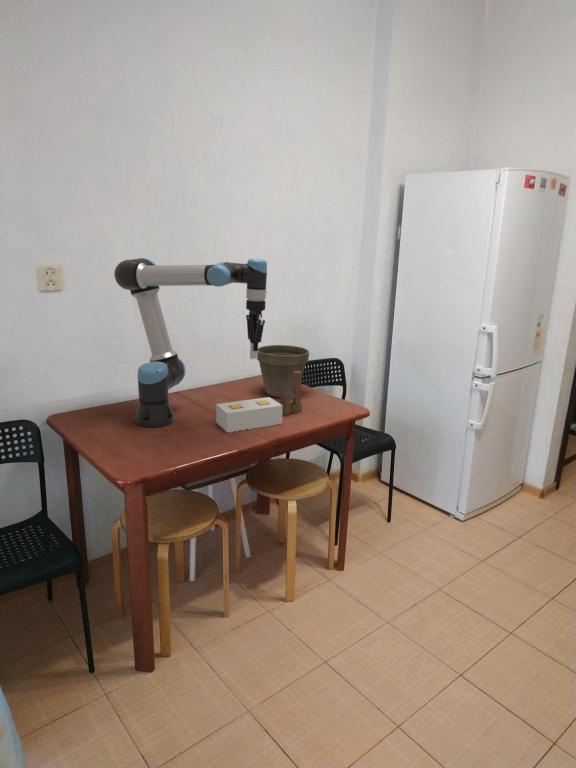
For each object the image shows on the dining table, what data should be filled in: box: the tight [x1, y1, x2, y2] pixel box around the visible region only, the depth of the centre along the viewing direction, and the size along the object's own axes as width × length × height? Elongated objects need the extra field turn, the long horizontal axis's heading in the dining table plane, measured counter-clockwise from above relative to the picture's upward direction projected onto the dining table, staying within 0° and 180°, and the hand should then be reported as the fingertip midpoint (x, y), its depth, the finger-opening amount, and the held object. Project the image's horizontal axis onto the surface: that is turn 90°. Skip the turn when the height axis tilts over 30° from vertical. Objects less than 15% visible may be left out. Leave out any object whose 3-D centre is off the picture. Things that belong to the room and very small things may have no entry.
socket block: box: [215, 396, 283, 434], centre depth 218 cm, size 24×12×8 cm, turn 118°
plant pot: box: [256, 344, 310, 398], centre depth 257 cm, size 25×25×22 cm
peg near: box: [229, 404, 242, 409], centre depth 215 cm, size 4×4×8 cm
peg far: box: [256, 401, 269, 405], centre depth 220 cm, size 4×4×8 cm
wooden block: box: [278, 371, 303, 417], centre depth 231 cm, size 4×11×18 cm, turn 135°
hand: (253, 358), depth 216 cm, fingers closed
